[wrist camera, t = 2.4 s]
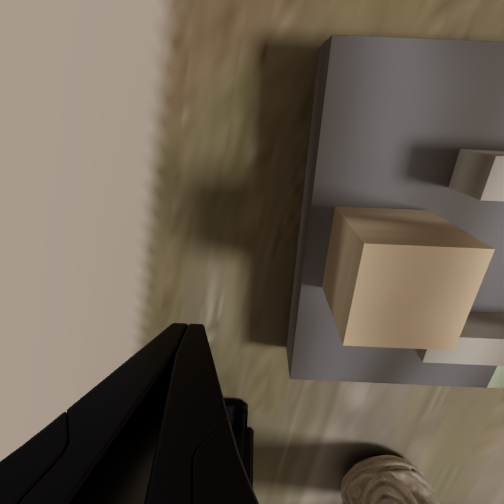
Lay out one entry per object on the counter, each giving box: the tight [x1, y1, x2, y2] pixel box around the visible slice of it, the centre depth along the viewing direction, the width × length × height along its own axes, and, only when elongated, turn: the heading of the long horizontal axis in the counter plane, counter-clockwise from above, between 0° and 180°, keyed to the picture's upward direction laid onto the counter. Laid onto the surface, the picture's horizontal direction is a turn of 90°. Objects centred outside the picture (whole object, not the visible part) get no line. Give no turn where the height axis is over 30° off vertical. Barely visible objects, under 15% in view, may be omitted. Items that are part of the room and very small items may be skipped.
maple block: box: [322, 206, 495, 350], centre depth 12 cm, size 4×4×4 cm
